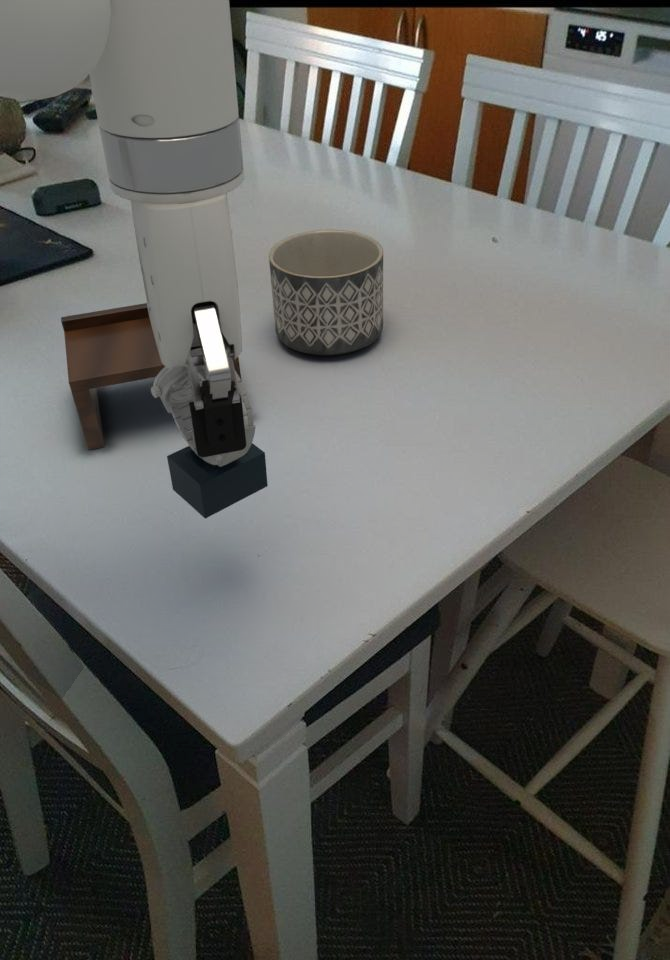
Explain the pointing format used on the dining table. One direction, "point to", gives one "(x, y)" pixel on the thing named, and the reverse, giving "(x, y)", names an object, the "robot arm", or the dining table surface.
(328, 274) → the planter
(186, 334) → the robot arm
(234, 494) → the watch
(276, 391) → the dining table surface
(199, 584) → the dining table surface
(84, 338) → the shelf
